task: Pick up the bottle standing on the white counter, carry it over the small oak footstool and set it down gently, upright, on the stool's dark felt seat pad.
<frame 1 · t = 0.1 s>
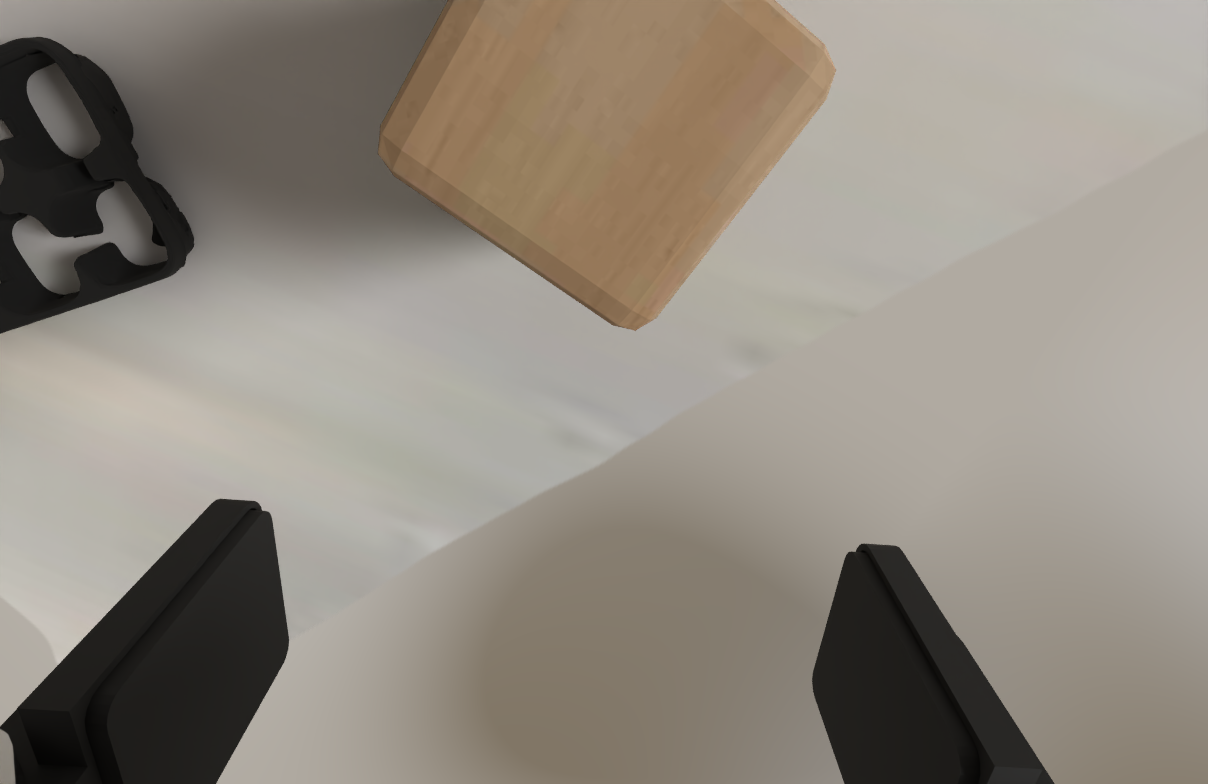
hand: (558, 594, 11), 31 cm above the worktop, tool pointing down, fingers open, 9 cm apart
wooden block: (603, 101, 37), on the worktop
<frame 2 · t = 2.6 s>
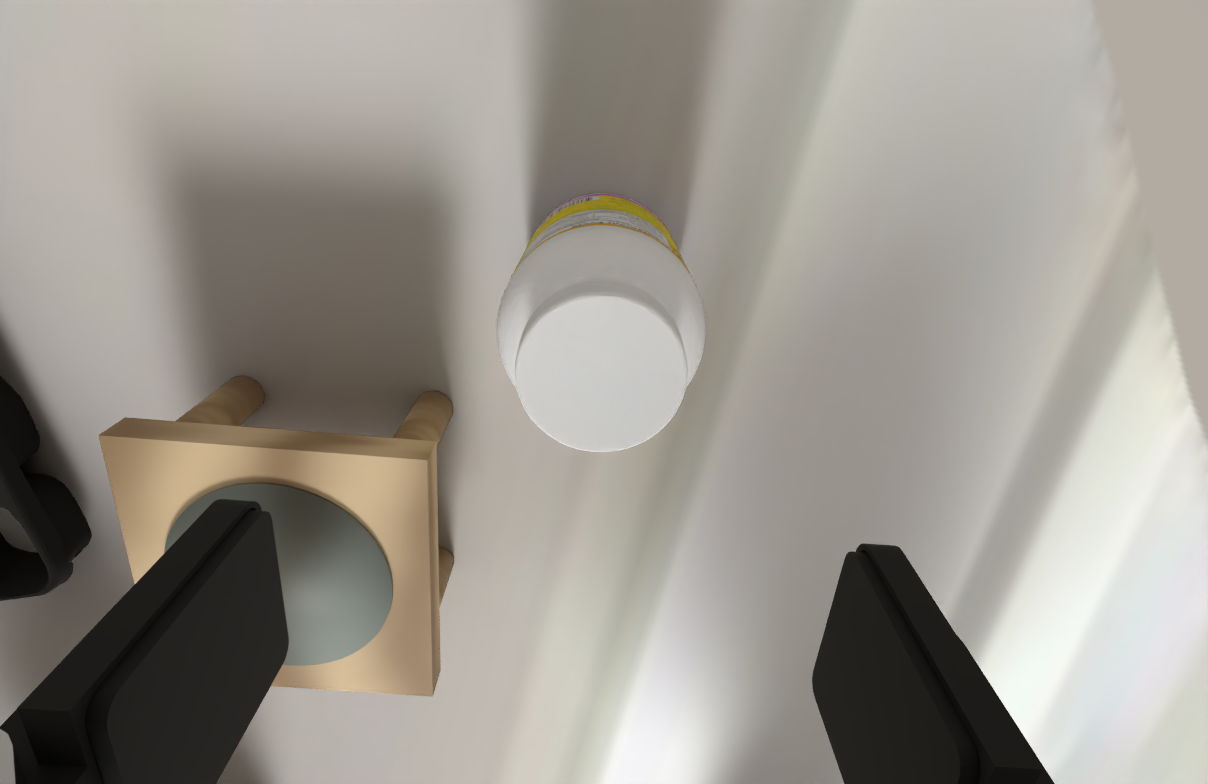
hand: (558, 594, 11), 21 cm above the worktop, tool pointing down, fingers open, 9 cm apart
footstool: (346, 481, 34), on the worktop
supplement bottle: (602, 266, 30), on the worktop
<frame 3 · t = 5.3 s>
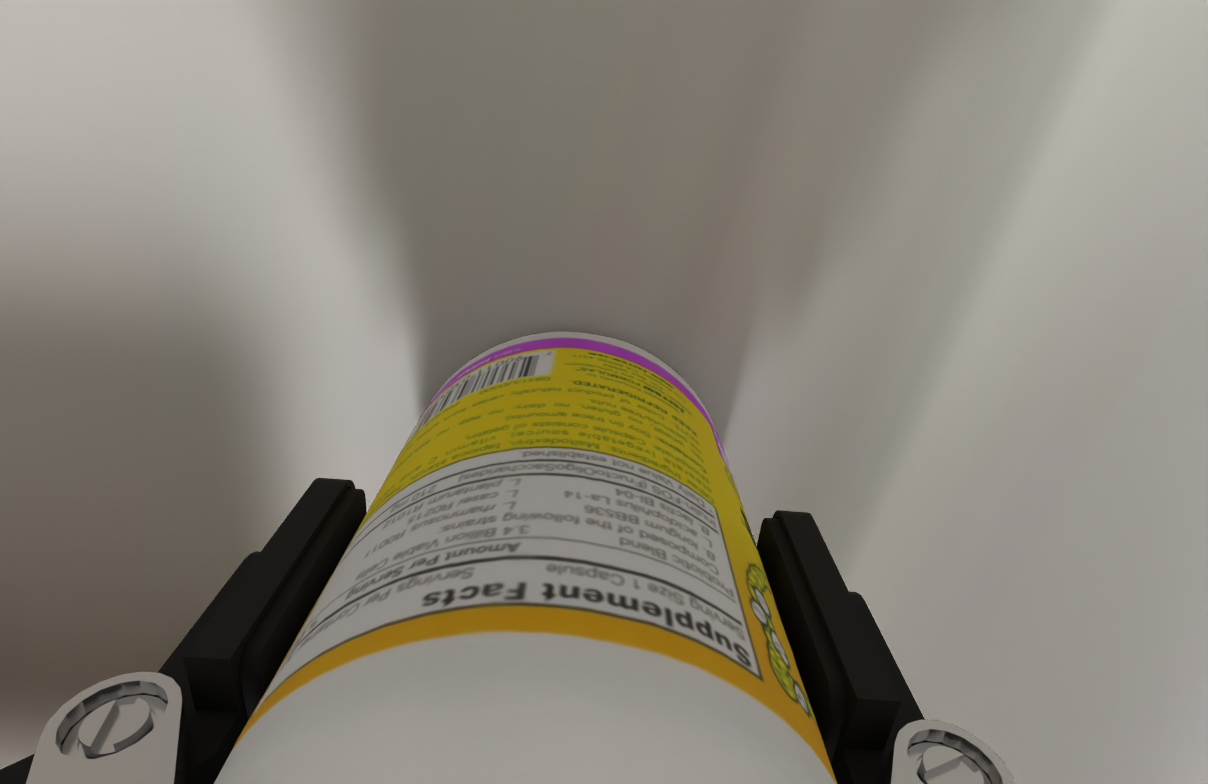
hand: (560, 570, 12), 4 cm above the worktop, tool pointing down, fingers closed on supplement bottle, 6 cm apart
supplement bottle: (571, 457, 15), on the worktop, touching gripper
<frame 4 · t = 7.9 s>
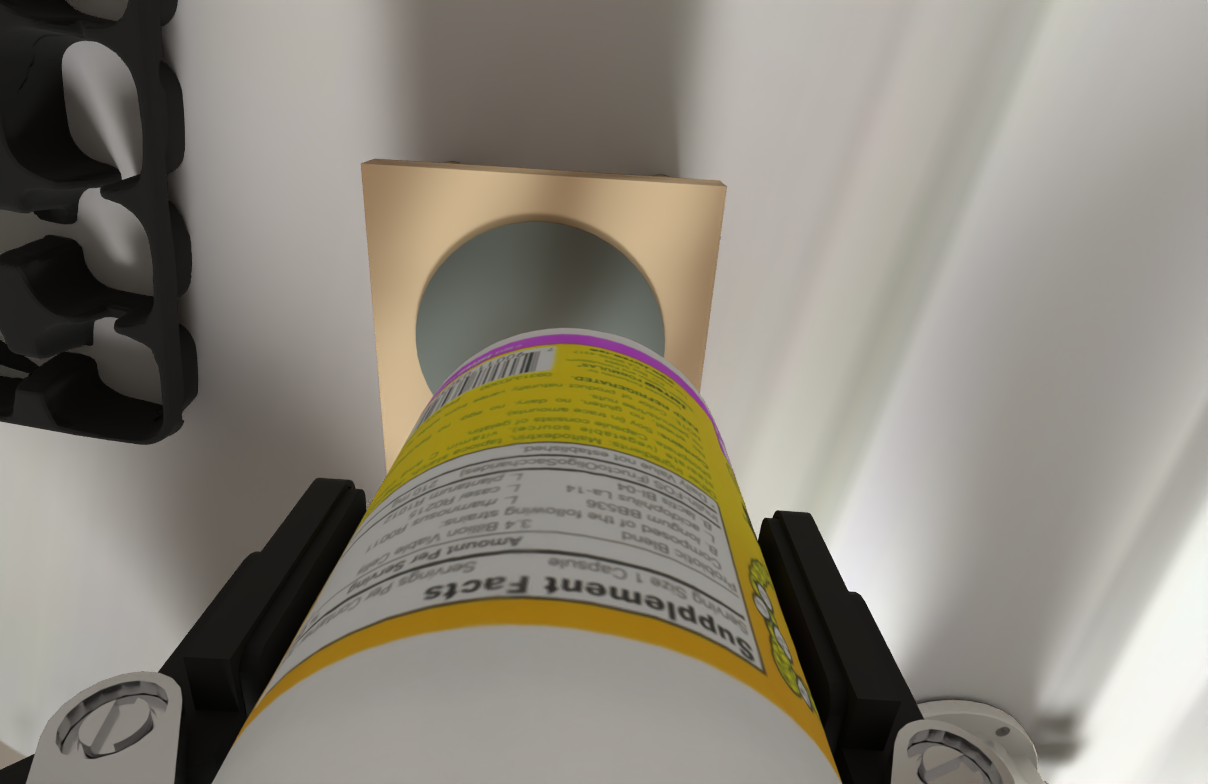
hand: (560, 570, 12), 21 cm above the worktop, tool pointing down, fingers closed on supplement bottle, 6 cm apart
egg carton: (53, 93, 29), on the worktop
footstool: (554, 289, 32), on the worktop
supplement bottle: (572, 454, 15), point 17 cm above the worktop, touching gripper
when the fingers open (12 cm above the worktop, at t = 10.7 s): supplement bottle drops 1 cm, resting on footstool.
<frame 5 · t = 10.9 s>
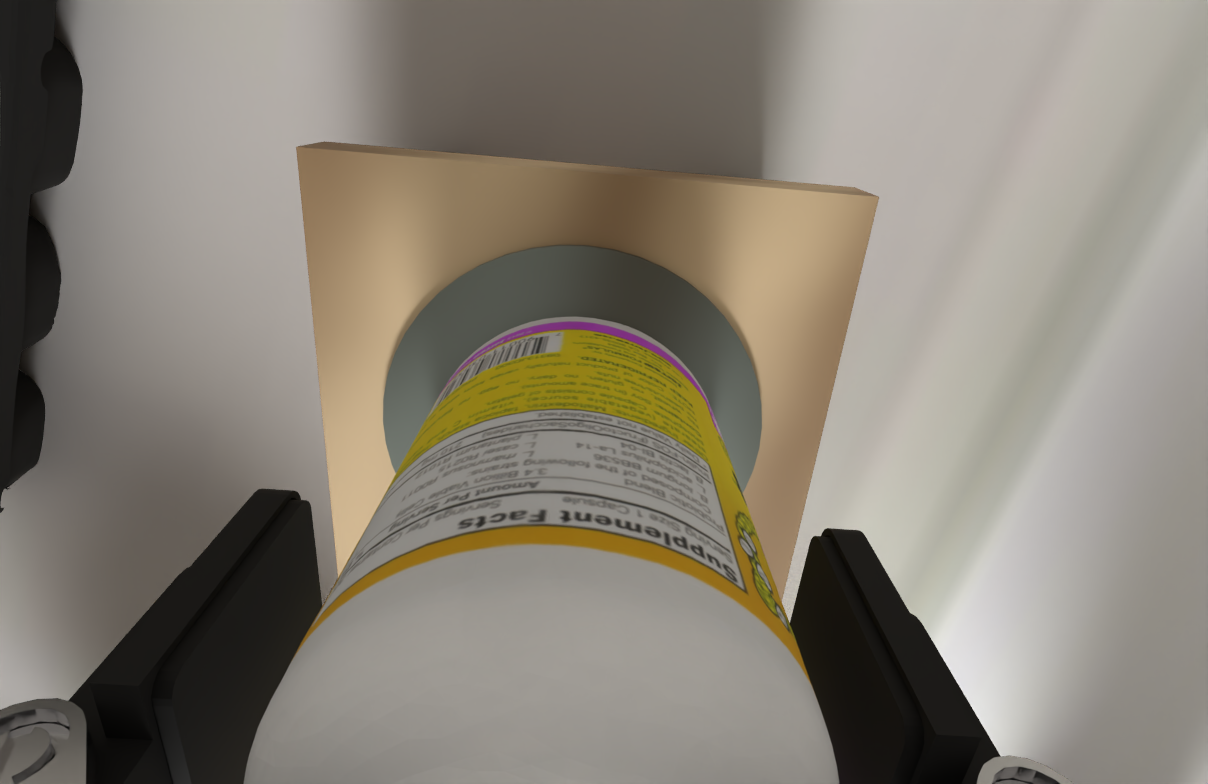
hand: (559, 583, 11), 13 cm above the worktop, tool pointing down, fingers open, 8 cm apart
footstool: (582, 330, 23), on the worktop
supplement bottle: (577, 435, 16), point 8 cm above the worktop, touching footstool
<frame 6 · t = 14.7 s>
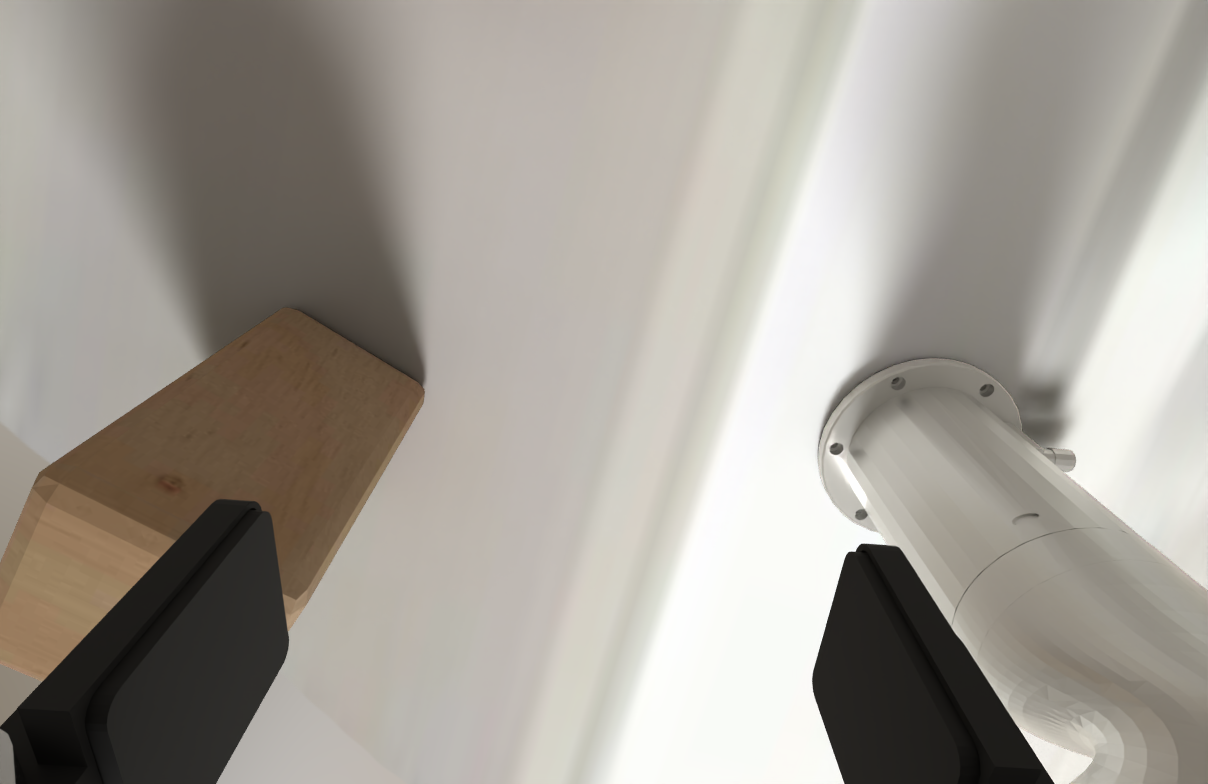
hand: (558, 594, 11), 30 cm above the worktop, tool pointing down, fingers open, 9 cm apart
wooden block: (328, 400, 43), on the worktop
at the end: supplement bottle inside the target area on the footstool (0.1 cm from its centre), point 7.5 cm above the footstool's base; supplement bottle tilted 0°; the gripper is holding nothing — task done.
